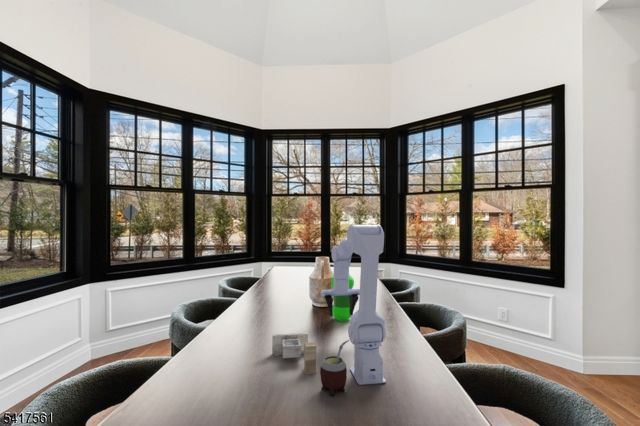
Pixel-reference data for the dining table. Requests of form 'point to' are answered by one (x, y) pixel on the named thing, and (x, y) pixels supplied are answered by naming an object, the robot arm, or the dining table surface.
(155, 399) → the dining table surface
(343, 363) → the mate gourd
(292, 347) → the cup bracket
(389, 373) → the dining table surface
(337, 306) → the plastic bottle
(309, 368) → the rail end
